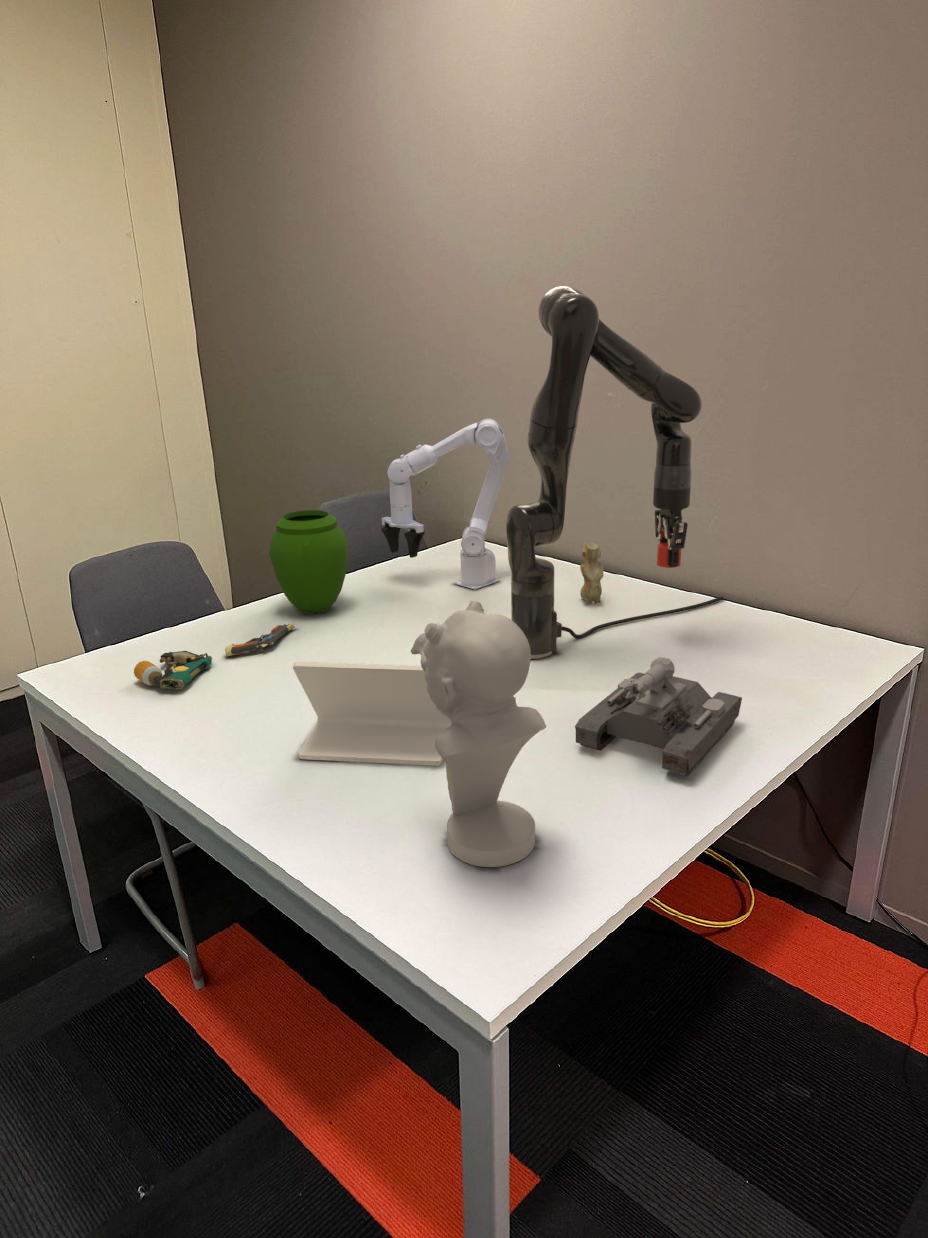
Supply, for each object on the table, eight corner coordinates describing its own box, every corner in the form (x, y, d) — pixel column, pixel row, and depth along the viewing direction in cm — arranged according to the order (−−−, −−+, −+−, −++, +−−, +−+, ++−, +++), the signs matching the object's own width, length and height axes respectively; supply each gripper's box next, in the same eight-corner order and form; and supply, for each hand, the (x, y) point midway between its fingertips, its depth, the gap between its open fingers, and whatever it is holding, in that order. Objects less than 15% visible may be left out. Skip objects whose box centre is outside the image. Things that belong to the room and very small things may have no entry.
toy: (637, 695, 165) (641, 623, 160) (740, 721, 154) (747, 645, 149) (574, 750, 146) (575, 670, 141) (685, 784, 135) (691, 699, 130)
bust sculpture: (481, 772, 140) (476, 569, 128) (565, 848, 120) (569, 617, 108) (392, 800, 134) (378, 588, 121) (465, 886, 114) (457, 642, 101)
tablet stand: (441, 765, 143) (437, 672, 137) (297, 759, 146) (287, 668, 140) (456, 716, 160) (453, 631, 154) (327, 711, 163) (319, 628, 157)
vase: (368, 603, 220) (362, 511, 212) (318, 627, 205) (308, 529, 196) (311, 592, 230) (303, 503, 222) (259, 614, 215) (248, 520, 206)
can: (654, 561, 187) (654, 542, 185) (676, 560, 187) (677, 541, 186) (660, 568, 182) (661, 549, 181) (683, 567, 182) (684, 547, 181)
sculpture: (599, 596, 220) (601, 540, 215) (605, 605, 214) (607, 548, 208) (577, 597, 220) (578, 541, 215) (582, 606, 213) (583, 549, 208)
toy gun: (221, 647, 188) (262, 644, 186) (256, 622, 206) (295, 619, 204) (223, 659, 189) (265, 656, 187) (258, 633, 207) (297, 630, 205)
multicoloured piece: (177, 659, 191) (231, 671, 185) (120, 684, 176) (176, 698, 171) (176, 641, 190) (230, 653, 184) (118, 665, 175) (174, 678, 169)
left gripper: (372, 504, 229) (375, 552, 233) (408, 511, 219) (411, 562, 224) (391, 499, 233) (394, 547, 238) (428, 506, 224) (430, 556, 229)
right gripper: (702, 490, 172) (697, 570, 178) (677, 477, 186) (673, 552, 192) (666, 492, 172) (662, 573, 177) (644, 479, 185) (641, 554, 191)
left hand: (403, 554), depth 231 cm, fingers open, 7 cm apart
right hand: (668, 562), depth 184 cm, fingers closed on can, 5 cm apart
